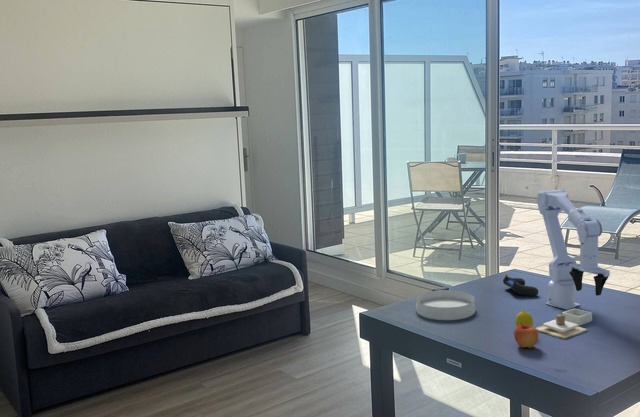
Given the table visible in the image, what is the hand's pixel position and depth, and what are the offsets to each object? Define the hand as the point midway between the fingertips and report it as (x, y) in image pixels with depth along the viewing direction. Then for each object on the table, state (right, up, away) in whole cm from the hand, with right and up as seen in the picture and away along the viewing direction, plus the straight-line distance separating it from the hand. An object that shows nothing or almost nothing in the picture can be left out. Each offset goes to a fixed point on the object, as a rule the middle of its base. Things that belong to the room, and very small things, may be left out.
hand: (588, 292), depth 225 cm
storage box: (-4, -10, 0) cm, 11 cm away
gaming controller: (-13, -5, +36) cm, 39 cm away
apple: (-29, -15, -21) cm, 38 cm away
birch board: (-13, -12, -8) cm, 19 cm away
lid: (-13, -10, -9) cm, 19 cm away
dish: (-46, -10, +19) cm, 51 cm away
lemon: (-25, -13, -9) cm, 30 cm away
